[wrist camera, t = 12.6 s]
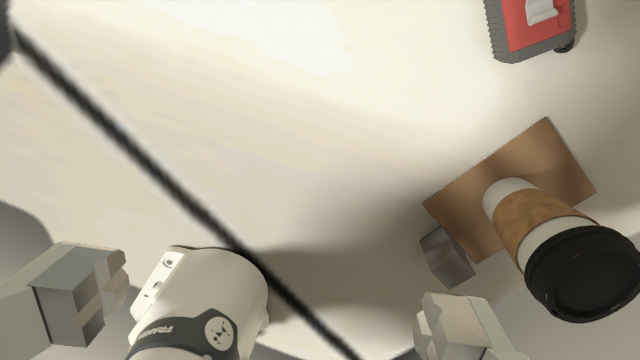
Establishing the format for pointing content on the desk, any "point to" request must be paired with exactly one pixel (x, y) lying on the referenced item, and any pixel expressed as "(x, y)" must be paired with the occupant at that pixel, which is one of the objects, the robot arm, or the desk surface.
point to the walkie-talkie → (529, 27)
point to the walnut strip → (468, 190)
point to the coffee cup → (563, 252)
